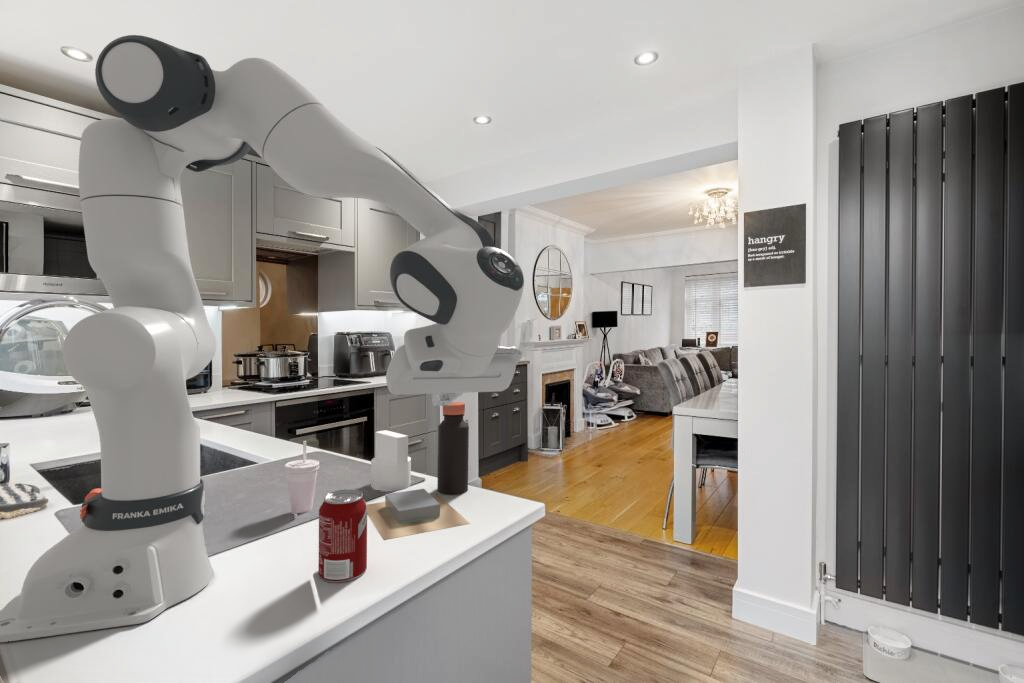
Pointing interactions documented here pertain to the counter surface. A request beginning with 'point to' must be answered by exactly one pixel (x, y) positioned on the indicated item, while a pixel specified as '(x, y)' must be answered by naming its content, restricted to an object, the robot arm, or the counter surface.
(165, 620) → the counter surface
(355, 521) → the soda can
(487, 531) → the counter surface
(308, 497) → the smoothie
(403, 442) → the cylinder with rectangular tab
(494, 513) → the counter surface
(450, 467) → the bottle
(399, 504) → the tile
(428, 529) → the mat
